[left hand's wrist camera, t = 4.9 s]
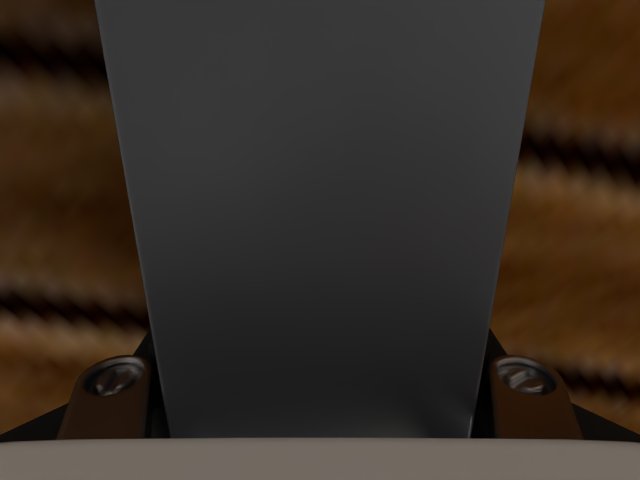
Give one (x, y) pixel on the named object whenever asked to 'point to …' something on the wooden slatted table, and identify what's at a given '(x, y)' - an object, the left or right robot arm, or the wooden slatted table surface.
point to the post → (319, 204)
